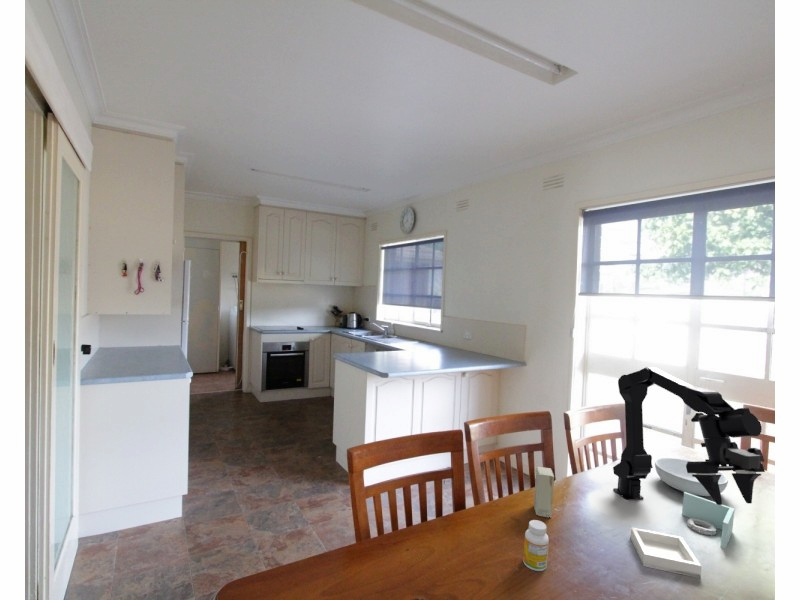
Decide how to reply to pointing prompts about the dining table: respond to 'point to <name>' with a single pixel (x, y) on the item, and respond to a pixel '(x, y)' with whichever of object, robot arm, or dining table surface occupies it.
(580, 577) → the dining table surface
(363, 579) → the dining table surface
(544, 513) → the skincare box
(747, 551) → the dining table surface
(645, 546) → the holder tray
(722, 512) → the right angle wall
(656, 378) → the robot arm
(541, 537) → the supplement bottle
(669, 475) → the serving bowl
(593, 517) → the dining table surface
